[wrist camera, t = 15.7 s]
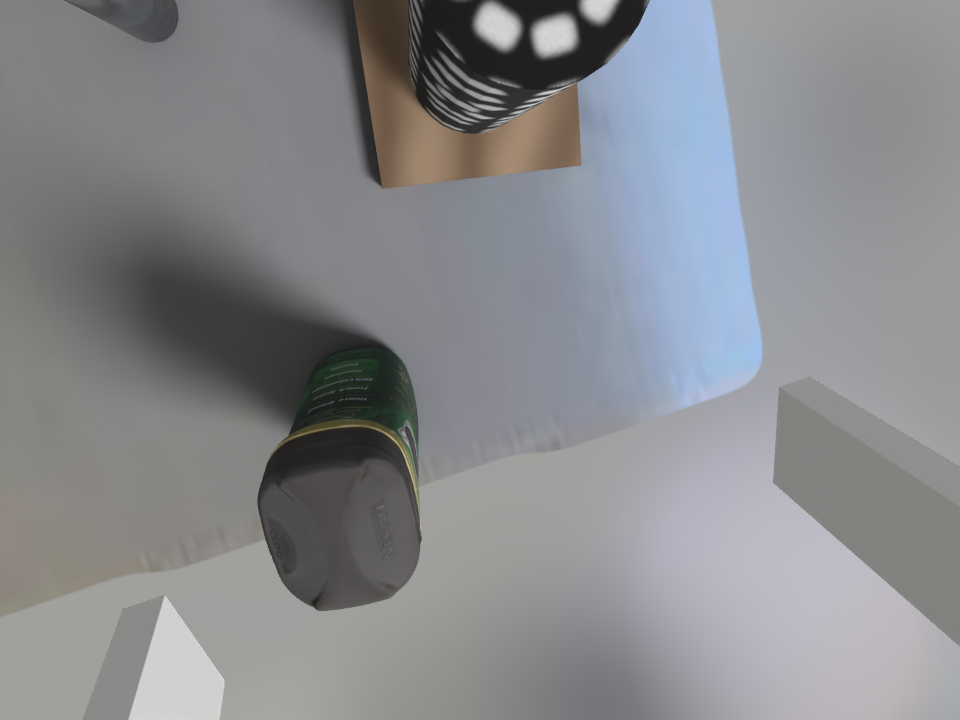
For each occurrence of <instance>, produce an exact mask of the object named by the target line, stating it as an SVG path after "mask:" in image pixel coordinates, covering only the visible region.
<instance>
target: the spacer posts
mask: <svg viewBox="0 0 960 720" xmlns="http://www.w3.org/2000/svg"><path fill="white" fill-rule="evenodd" d="M65 1H67V2H69V3H71V4H73V5H75V6H77V7H79V8H81V9H83V10H84V11H86V12H88V13H90V14H92V15H94V16H96V17H98V18H100V19H102V20H104V21H106V22H107V23H109V24H111V25H113V26H115V27H117V28H119V29H121V30H123V31H125V32H127V33H129V34H130V35H132V36H134V37H136V38H138V39H140V40H143V41H146V42H152V43H154V42H161V41H164V40H165V39H167V38H169V37H170V36H171V35H172V34H173V32H174V31H175V29H176V26H177V23H178V9H177V5H176V2H175V0H65Z"/></svg>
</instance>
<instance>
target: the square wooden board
mask: <svg viewBox="0 0 960 720" xmlns="http://www.w3.org/2000/svg"><path fill="white" fill-rule="evenodd" d="M353 5H354V12H355V18H356V24H357V31H358V37H359V43H360V50H361V56H362V63H363V69H364V75H365V82H366V88H367V94H368V101H369V107H370V113H371V120H372V126H373V132H374V139H375V145H376V152H377V158H378V164H379V171H380V177H381V183H382V189H383V188H391V187H400V186H408V185H417V184H425V183H434V182H442V181H451V180H460V179H468V178H477V177H485V176H494V175H502V174H511V173H519V172H528V171H536V170H545V169H553V168H562V167H571V166H579V165H581V149H580V130H579V111H578V92H577V83H575V84H574V85H572V86H570V87H568V88H567V89H565V90H563V91H561V92H560V93H558V94H556V95H555V96H553V97H551V98H549V99H548V100H546V101H544V102H542V103H541V104H539V105H537V106H535V107H534V108H532V109H530V110H529V111H527V112H525V113H523V114H522V115H520V116H518V117H516V118H515V119H513V120H511V121H509V122H508V123H506V124H504V125H503V126H501V127H499V128H496V129H494V130H491V131H489V132H484V133H478V134H469V133H462V132H458V131H453V130H451V129H449V128H447V127H445V126H443V125H441V124H440V123H439V122H437V121H436V120H435V119H433V118H432V117H431V116H430V115H429V114H428V113H427V111H426V110H425V109H424V108H423V107H422V105H421V103H420V102H419V100H418V98H417V97H416V95H415V92H414V89H413V87H412V84H411V80H410V75H409V68H408V0H353Z"/></svg>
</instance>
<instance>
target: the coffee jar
mask: <svg viewBox="0 0 960 720" xmlns="http://www.w3.org/2000/svg"><path fill="white" fill-rule="evenodd" d="M258 509H259V514H260V518H261V523H262V527H263V531H264V535H265V539H266V542H267V545H268V548H269V551H270V554H271V556H272V559H273V561H274V563H275V566H276V568H277V571H278V574H279V576H280V578H281V580H282V582H283V583H284V585H285V586H286V587H287V588H288V590H289V591H290V592H291V593H292V594H293V595H294V596H296V597H297V598H299V599H300V600H301V601H303V602H304V603H306V604H308V605H310V606H312V607H314V608H315V609H316V610H318V611H327V610H337V609H344V608H350V607H356V606H361V605H366V604H370V603H374V602H378V601H382V600H385V599H388V598H390V597H392V596H393V595H394V594H395V593H396V592H397V591H398V590H399V589H401V588H402V587H403V586H404V585H405V584H406V583H407V582H408V580H409V579H410V577H411V576H412V574H413V572H414V571H415V568H416V566H417V563H418V558H419V552H420V543H421V540H422V537H421V523H420V508H419V483H418V417H417V408H416V402H415V396H414V391H413V387H412V384H411V380H410V377H409V374H408V372H407V369H406V367H405V365H404V363H403V362H402V360H401V359H400V358H399V357H398V356H397V355H395V354H394V353H393V352H391V351H388V350H386V349H382V348H372V347H371V348H360V349H352V350H347V351H342V352H339V353H336V354H333V355H330V356H328V357H326V358H324V359H323V360H322V361H320V362H319V364H318V365H317V366H316V367H315V369H314V371H313V373H312V375H311V377H310V379H309V382H308V384H307V387H306V390H305V393H304V396H303V399H302V402H301V405H300V408H299V411H298V413H297V416H296V418H295V421H294V423H293V426H292V428H291V431H290V433H289V436H288V437H286V438H285V439H284V440H283V441H282V442H281V443H280V444H279V445H278V446H277V447H276V448H275V450H274V451H273V452H272V454H271V456H270V458H269V460H268V462H267V466H266V469H265V472H264V476H263V479H262V482H261V485H260V489H259V493H258Z"/></svg>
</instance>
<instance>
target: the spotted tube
mask: <svg viewBox="0 0 960 720" xmlns="http://www.w3.org/2000/svg"><path fill="white" fill-rule="evenodd" d="M649 1H650V0H408V68H409V75H410V80H411V84H412V87H413V89H414V92H415V95H416V97H417V98H418V100H419V102H420V103H421V105H422V107H423V108H424V109H425V110H426V111H427V113H428V114H429V115H430V116H431V117H432V118H433V119H435V120H436V121H437V122H439V123H440V124H441V125H443V126H445V127H447V128H449V129H451V130H453V131H458V132H462V133H469V134H478V133H484V132H489V131H491V130H494V129H496V128H499V127H501V126H503V125H504V124H506V123H508V122H509V121H511V120H513V119H515V118H516V117H518V116H520V115H522V114H523V113H525V112H527V111H529V110H530V109H532V108H534V107H535V106H537V105H539V104H541V103H542V102H544V101H546V100H548V99H549V98H551V97H553V96H555V95H556V94H558V93H560V92H561V91H563V90H565V89H567V88H568V87H570V86H572V85H574V84H575V83H577V82H579V81H581V80H582V79H584V78H586V77H587V76H589V75H590V74H592V73H593V72H595V71H596V70H598V69H599V68H601V67H602V66H604V65H605V64H607V63H608V62H609V61H610V60H611V59H612V58H613V57H614V56H615V55H616V54H617V53H618V52H619V50H620V49H621V48H622V47H623V46H624V45H625V44H626V42H627V41H628V39H629V38H630V37H631V35H632V34H633V32H634V31H635V29H636V28H637V26H638V25H639V23H640V21H641V19H642V16H643V14H644V12H645V10H646V8H647V5H648V3H649Z"/></svg>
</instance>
